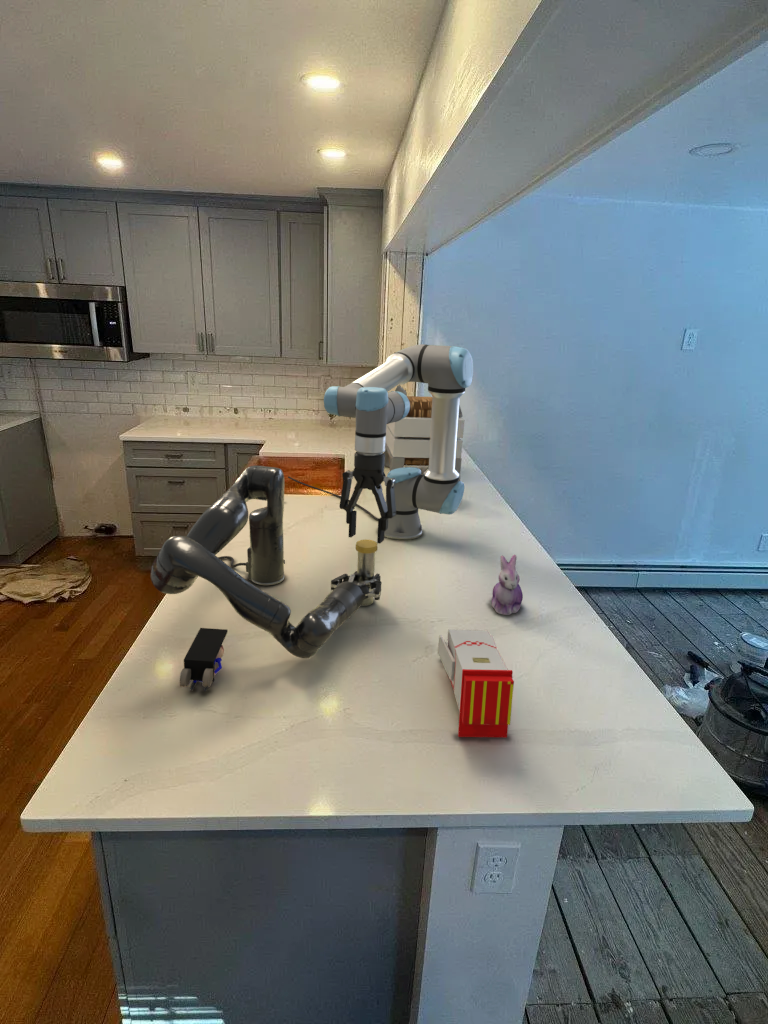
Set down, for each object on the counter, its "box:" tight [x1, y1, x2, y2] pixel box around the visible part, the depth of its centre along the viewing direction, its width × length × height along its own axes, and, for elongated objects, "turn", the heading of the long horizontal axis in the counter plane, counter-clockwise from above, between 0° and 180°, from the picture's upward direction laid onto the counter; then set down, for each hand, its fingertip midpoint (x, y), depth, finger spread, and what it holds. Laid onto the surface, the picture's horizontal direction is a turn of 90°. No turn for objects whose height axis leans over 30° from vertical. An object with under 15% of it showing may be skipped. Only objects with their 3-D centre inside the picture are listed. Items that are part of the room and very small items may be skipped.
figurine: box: [491, 554, 524, 616], centre depth 150 cm, size 9×10×15 cm
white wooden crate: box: [383, 385, 465, 480], centre depth 268 cm, size 34×33×41 cm
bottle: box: [356, 551, 376, 607], centre depth 150 cm, size 4×4×17 cm
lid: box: [355, 539, 379, 554], centre depth 147 cm, size 6×6×2 cm
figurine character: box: [178, 627, 228, 692], centre depth 119 cm, size 7×8×15 cm
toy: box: [437, 628, 515, 738], centre depth 117 cm, size 12×13×30 cm
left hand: (369, 574), depth 153 cm, fingers closed on bottle, 4 cm apart
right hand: (366, 538), depth 146 cm, fingers open, 7 cm apart
